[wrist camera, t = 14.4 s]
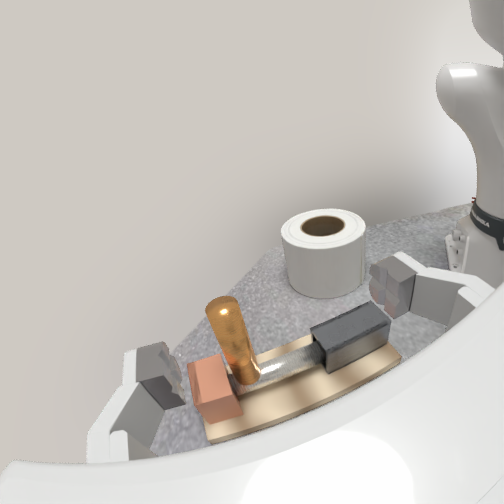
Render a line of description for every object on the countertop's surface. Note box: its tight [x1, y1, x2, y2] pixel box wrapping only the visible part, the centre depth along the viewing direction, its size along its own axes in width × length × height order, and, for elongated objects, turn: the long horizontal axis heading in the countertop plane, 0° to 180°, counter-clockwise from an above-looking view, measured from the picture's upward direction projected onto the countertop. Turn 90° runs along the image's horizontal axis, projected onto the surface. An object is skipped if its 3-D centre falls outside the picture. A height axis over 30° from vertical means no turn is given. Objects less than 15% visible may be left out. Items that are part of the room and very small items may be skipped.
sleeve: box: [310, 301, 391, 375], centre depth 34 cm, size 10×5×5 cm, turn 106°
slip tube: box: [205, 296, 326, 396], centre depth 30 cm, size 16×3×14 cm, turn 106°
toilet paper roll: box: [281, 209, 366, 299], centre depth 51 cm, size 16×15×11 cm
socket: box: [187, 354, 244, 424], centre depth 31 cm, size 4×7×5 cm
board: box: [202, 334, 402, 444], centre depth 35 cm, size 27×11×2 cm, turn 106°
